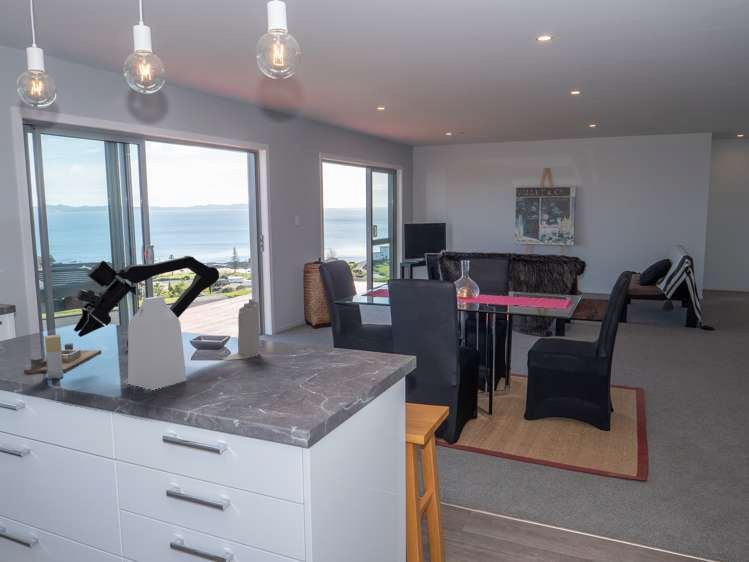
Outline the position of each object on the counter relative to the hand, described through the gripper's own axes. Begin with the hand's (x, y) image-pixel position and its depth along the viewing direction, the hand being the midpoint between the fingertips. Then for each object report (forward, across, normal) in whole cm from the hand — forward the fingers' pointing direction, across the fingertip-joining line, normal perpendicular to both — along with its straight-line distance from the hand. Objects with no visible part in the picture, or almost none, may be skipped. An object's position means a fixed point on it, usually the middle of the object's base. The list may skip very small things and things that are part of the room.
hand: (76, 333), depth 180 cm
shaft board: (+11, -18, +8) cm, 23 cm away
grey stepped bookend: (-26, +9, +45) cm, 53 cm away
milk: (-3, +24, +22) cm, 33 cm away
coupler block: (+14, 0, +4) cm, 15 cm away
